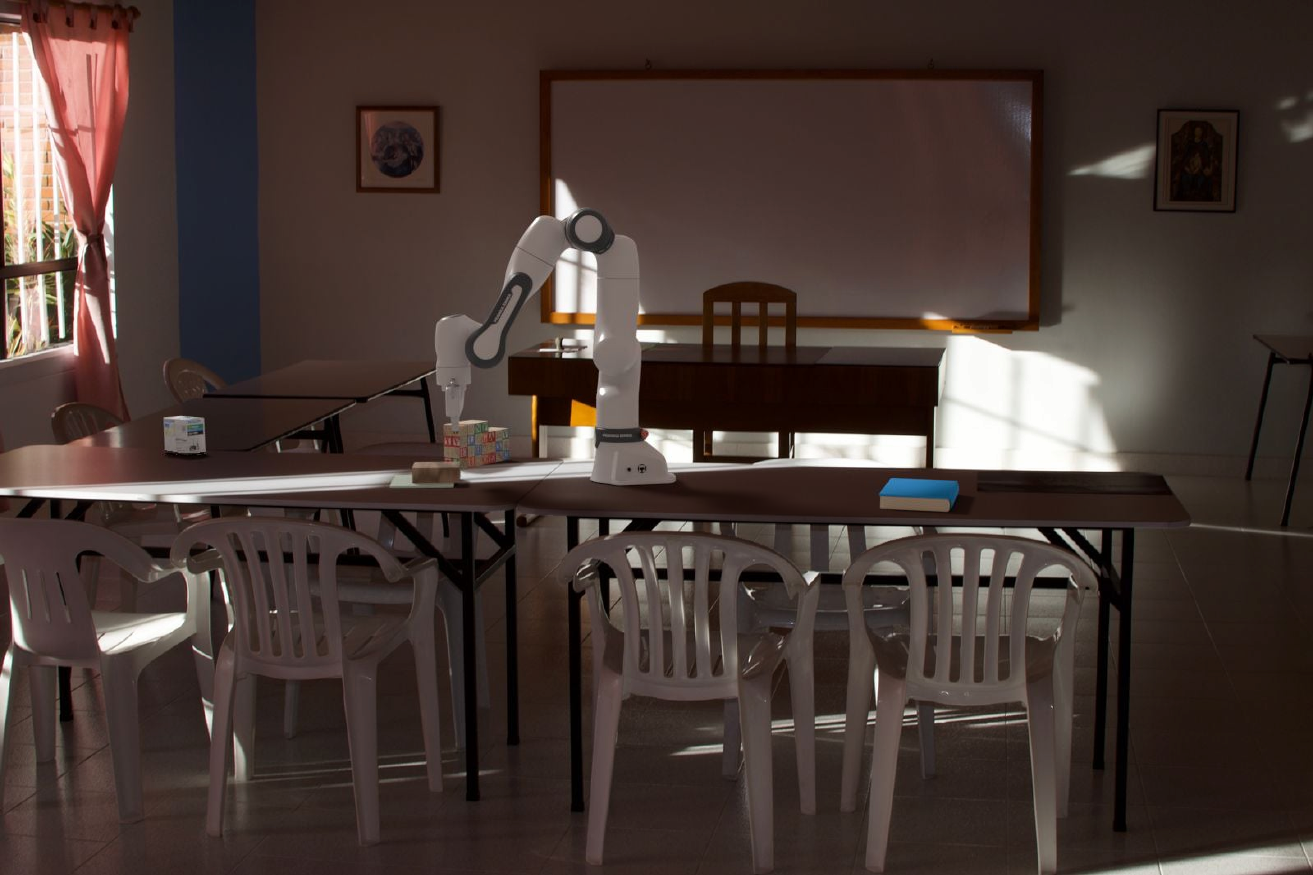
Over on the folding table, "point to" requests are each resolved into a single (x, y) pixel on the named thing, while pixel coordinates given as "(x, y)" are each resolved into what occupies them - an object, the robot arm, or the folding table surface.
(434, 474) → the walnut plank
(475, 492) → the folding table surface
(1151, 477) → the folding table surface
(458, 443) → the stack of blocks
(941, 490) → the book
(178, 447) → the light bulb box
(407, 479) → the mat
